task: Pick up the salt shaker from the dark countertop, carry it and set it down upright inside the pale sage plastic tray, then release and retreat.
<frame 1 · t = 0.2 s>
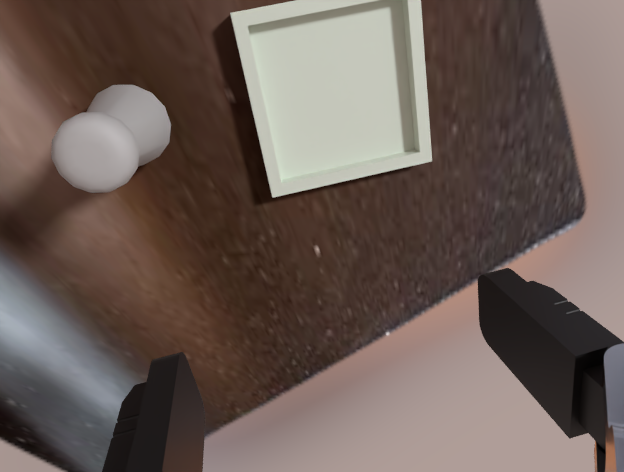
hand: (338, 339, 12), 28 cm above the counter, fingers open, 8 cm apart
salt shaker: (135, 120, 36), on the counter
tray: (336, 92, 37), on the counter
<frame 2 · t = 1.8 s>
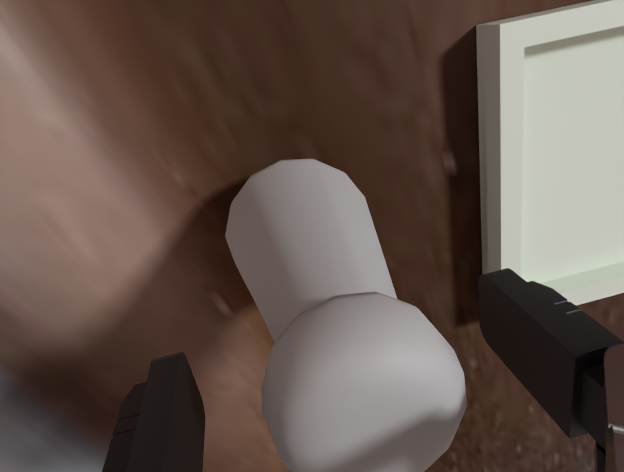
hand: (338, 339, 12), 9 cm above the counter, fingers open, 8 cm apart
salt shaker: (290, 208, 21), on the counter
tray: (615, 152, 22), on the counter
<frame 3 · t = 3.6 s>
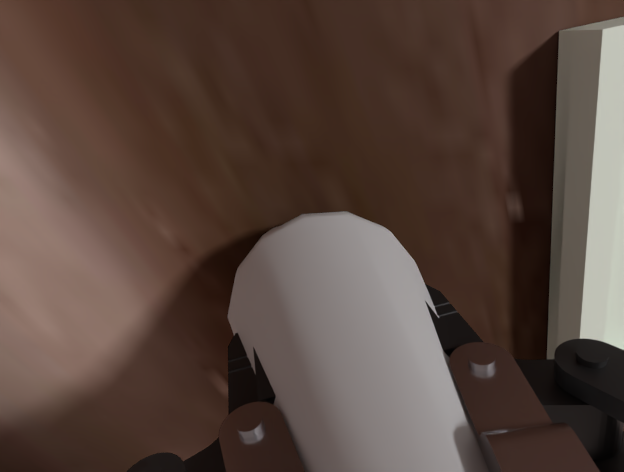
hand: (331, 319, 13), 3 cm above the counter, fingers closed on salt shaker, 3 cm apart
salt shaker: (312, 266, 16), on the counter, touching gripper
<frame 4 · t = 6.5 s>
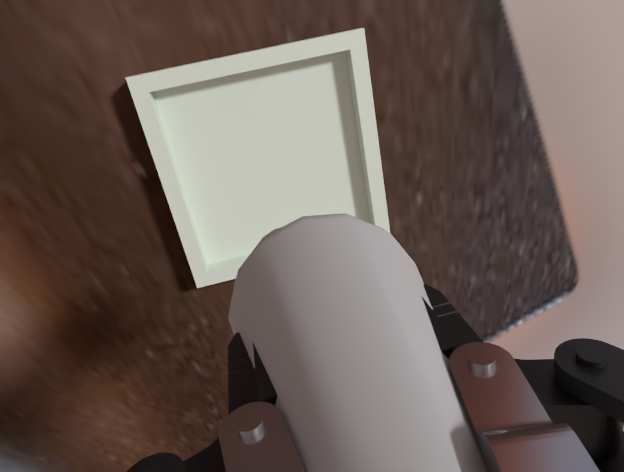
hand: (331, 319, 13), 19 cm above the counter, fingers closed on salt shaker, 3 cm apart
salt shaker: (312, 268, 16), point 16 cm above the counter, touching gripper
tray: (271, 161, 31), on the counter
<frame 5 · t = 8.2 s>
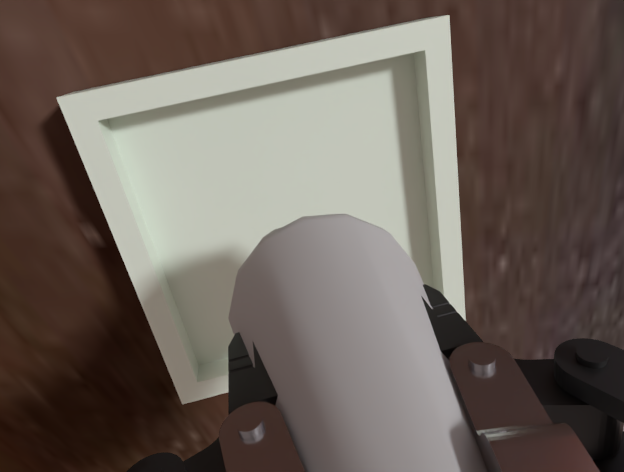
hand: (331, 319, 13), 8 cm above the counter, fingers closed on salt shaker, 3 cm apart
salt shaker: (312, 268, 16), point 5 cm above the counter, touching gripper
tray: (293, 218, 20), on the counter
when the fingers open (5 cm above the counter, at t = 9.7 s): salt shaker stays where it is, resting on tray.
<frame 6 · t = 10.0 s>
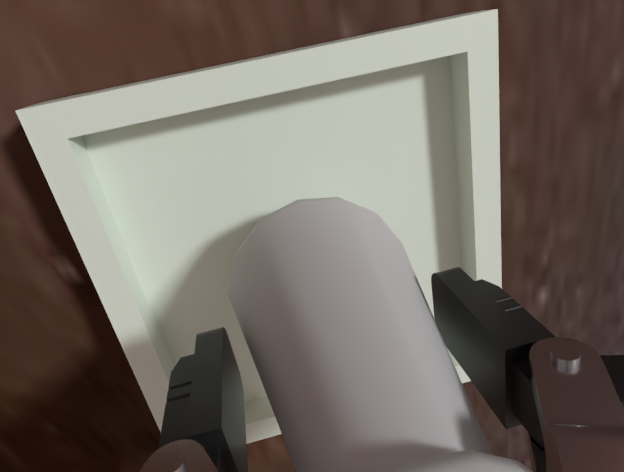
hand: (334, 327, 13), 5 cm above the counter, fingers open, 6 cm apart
salt shaker: (307, 250, 17), resting on tray
tray: (304, 248, 17), on the counter
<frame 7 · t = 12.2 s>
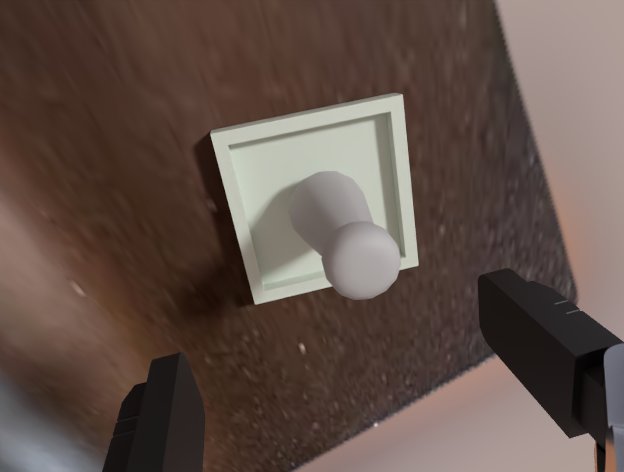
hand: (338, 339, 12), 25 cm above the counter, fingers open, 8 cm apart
salt shaker: (321, 199, 36), resting on tray
tray: (320, 199, 37), on the counter
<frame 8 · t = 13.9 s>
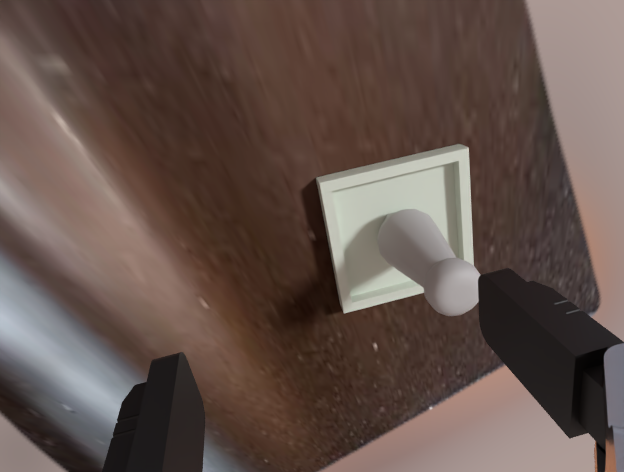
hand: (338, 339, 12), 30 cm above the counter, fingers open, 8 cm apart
salt shaker: (398, 228, 45), resting on tray
tray: (396, 228, 45), on the counter
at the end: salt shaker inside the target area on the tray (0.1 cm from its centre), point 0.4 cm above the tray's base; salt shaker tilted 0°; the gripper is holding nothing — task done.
